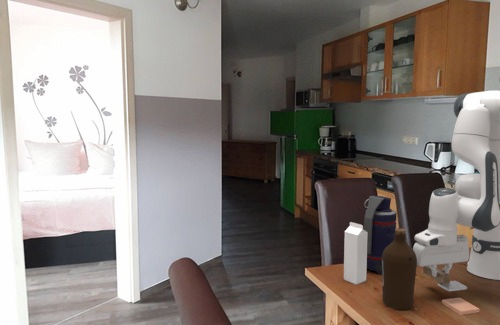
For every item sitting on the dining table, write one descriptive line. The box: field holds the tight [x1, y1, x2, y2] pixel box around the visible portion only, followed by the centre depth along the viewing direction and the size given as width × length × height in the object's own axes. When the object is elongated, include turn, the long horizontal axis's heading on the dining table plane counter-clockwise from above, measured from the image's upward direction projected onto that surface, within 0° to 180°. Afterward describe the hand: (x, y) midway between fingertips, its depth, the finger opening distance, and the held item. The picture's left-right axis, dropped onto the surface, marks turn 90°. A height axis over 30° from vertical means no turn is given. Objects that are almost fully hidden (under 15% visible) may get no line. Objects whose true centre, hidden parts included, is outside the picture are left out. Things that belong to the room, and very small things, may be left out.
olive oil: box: [381, 227, 418, 311], centre depth 123 cm, size 11×11×25 cm
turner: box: [422, 266, 468, 292], centre depth 129 cm, size 7×15×3 cm, turn 14°
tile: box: [441, 297, 481, 316], centre depth 122 cm, size 7×2×8 cm
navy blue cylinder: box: [363, 195, 397, 275], centre depth 151 cm, size 14×12×30 cm
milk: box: [343, 221, 368, 286], centre depth 142 cm, size 6×6×22 cm
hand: (440, 275), depth 130 cm, fingers closed on turner, 2 cm apart
